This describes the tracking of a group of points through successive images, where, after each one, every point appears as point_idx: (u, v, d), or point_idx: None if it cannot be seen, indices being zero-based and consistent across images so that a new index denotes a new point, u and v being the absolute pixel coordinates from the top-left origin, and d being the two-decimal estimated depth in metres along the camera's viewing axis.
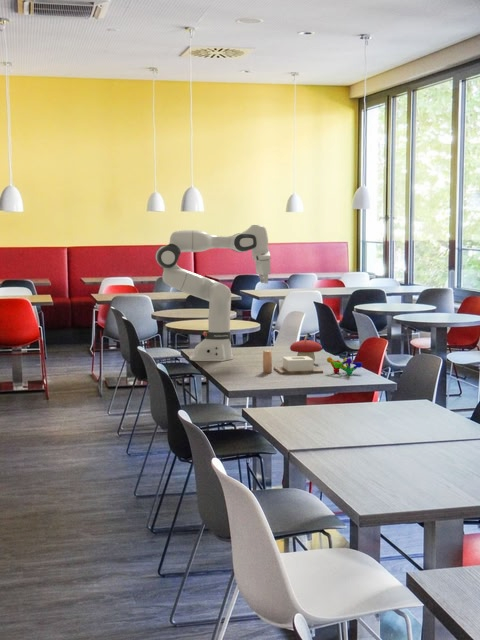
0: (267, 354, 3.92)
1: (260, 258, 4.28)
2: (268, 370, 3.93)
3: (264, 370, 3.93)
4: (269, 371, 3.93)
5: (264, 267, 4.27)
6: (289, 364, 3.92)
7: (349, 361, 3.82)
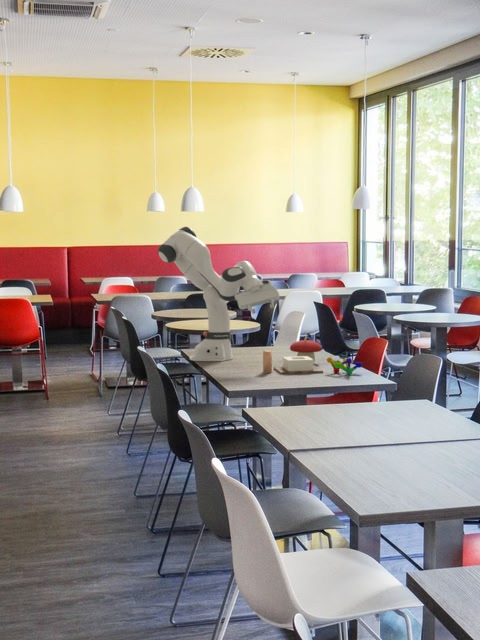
0: (267, 354, 3.92)
1: None
2: (268, 370, 3.93)
3: (264, 370, 3.93)
4: (269, 371, 3.93)
5: None
6: (289, 364, 3.92)
7: (349, 361, 3.82)
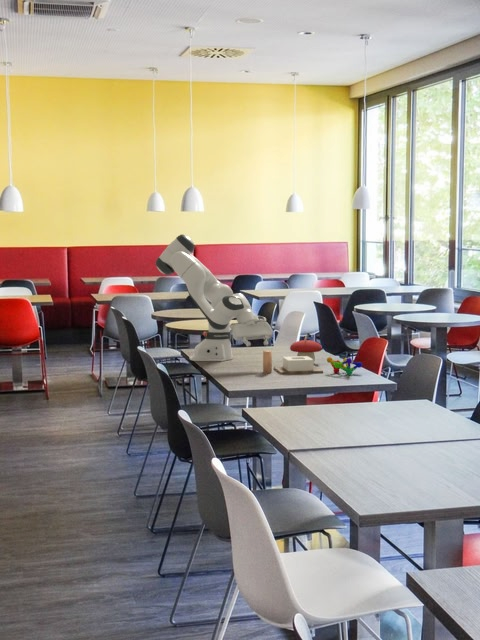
0: (267, 354, 3.92)
1: None
2: (268, 370, 3.93)
3: (264, 370, 3.93)
4: (269, 371, 3.93)
5: None
6: (289, 364, 3.92)
7: (349, 361, 3.82)
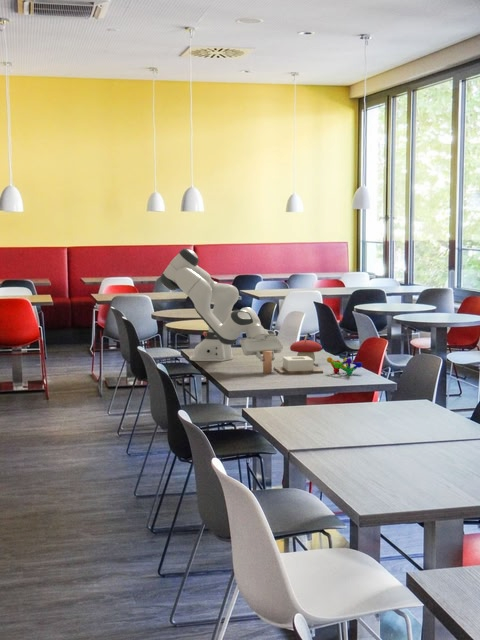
0: (267, 354, 3.92)
1: None
2: (268, 370, 3.93)
3: (264, 370, 3.93)
4: (269, 371, 3.93)
5: None
6: (289, 364, 3.92)
7: (349, 361, 3.82)
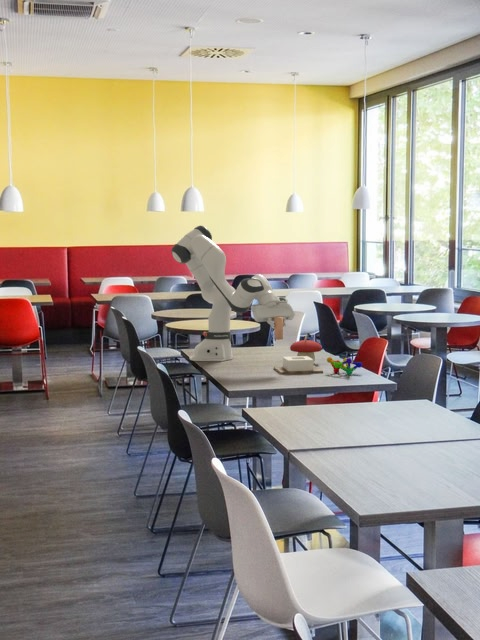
0: (278, 320, 3.91)
1: None
2: (279, 336, 3.92)
3: (275, 336, 3.93)
4: (280, 337, 3.92)
5: None
6: (289, 364, 3.92)
7: (349, 361, 3.82)
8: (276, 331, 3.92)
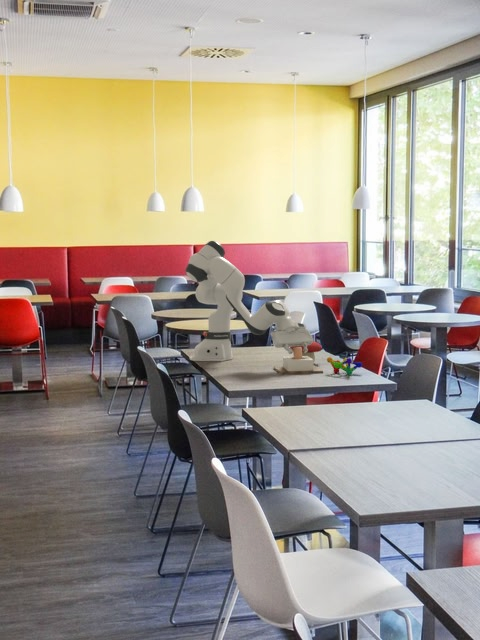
0: (298, 350, 3.96)
1: None
2: None
3: None
4: None
5: None
6: (289, 364, 3.92)
7: (349, 361, 3.82)
8: None
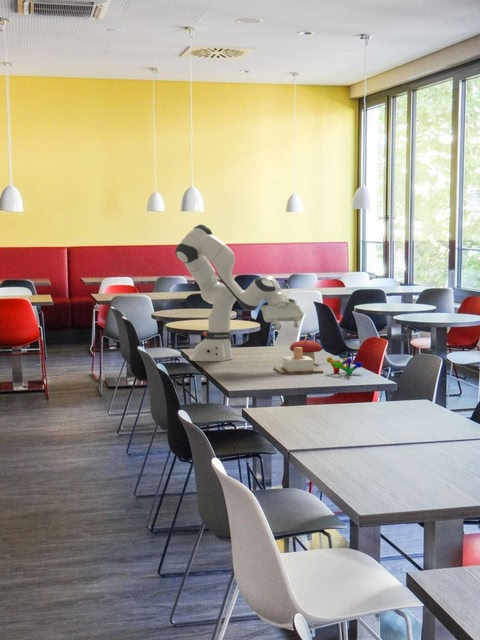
0: (298, 350, 3.96)
1: None
2: None
3: None
4: None
5: None
6: (289, 364, 3.92)
7: (349, 361, 3.82)
8: None
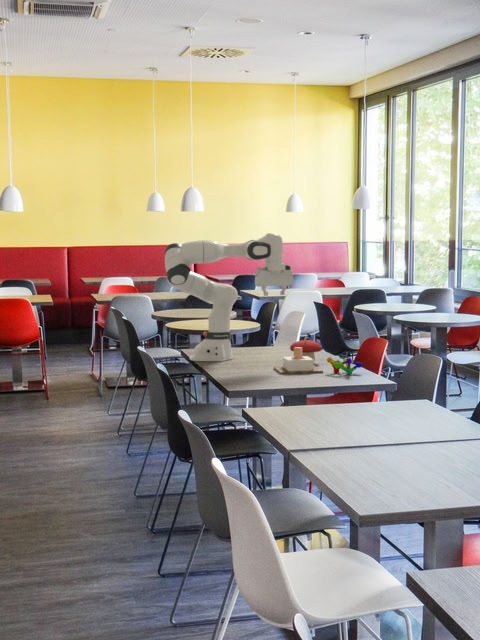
0: (298, 350, 3.96)
1: None
2: None
3: None
4: None
5: None
6: (289, 364, 3.92)
7: (349, 361, 3.82)
8: None
